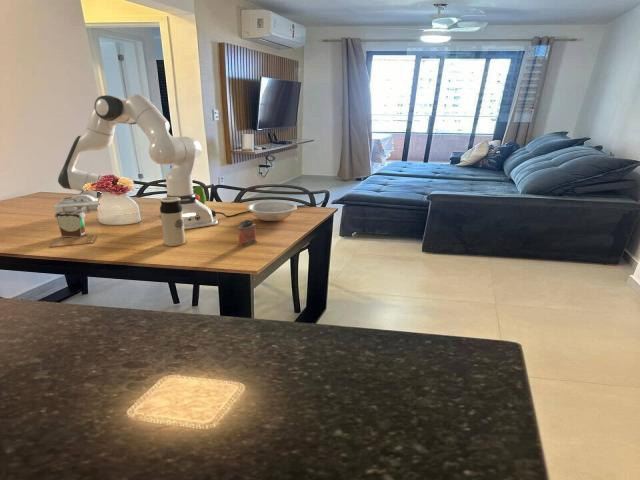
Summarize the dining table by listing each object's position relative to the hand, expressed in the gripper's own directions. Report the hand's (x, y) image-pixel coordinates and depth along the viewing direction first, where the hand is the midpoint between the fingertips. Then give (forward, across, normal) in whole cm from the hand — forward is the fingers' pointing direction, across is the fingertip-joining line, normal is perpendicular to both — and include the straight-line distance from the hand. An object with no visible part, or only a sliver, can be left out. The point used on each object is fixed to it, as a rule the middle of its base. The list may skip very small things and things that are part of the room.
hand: (78, 211), depth 165 cm
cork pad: (+19, 0, -8) cm, 21 cm away
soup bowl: (+13, -83, -8) cm, 84 cm away
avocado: (-23, -52, -8) cm, 57 cm away
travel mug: (+34, -37, -8) cm, 51 cm away
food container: (+11, 0, -8) cm, 14 cm away
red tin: (+44, -64, -8) cm, 78 cm away
